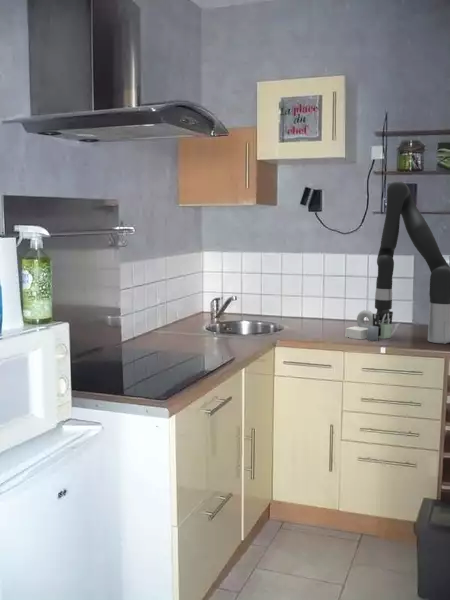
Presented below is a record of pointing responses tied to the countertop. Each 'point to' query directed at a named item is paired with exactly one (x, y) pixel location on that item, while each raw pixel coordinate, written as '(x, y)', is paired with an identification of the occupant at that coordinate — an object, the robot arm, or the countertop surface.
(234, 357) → the countertop surface
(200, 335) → the countertop surface
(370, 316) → the donut
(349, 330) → the ceramic pedestal
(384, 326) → the sage cube
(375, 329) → the charcoal cylinder
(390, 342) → the countertop surface
